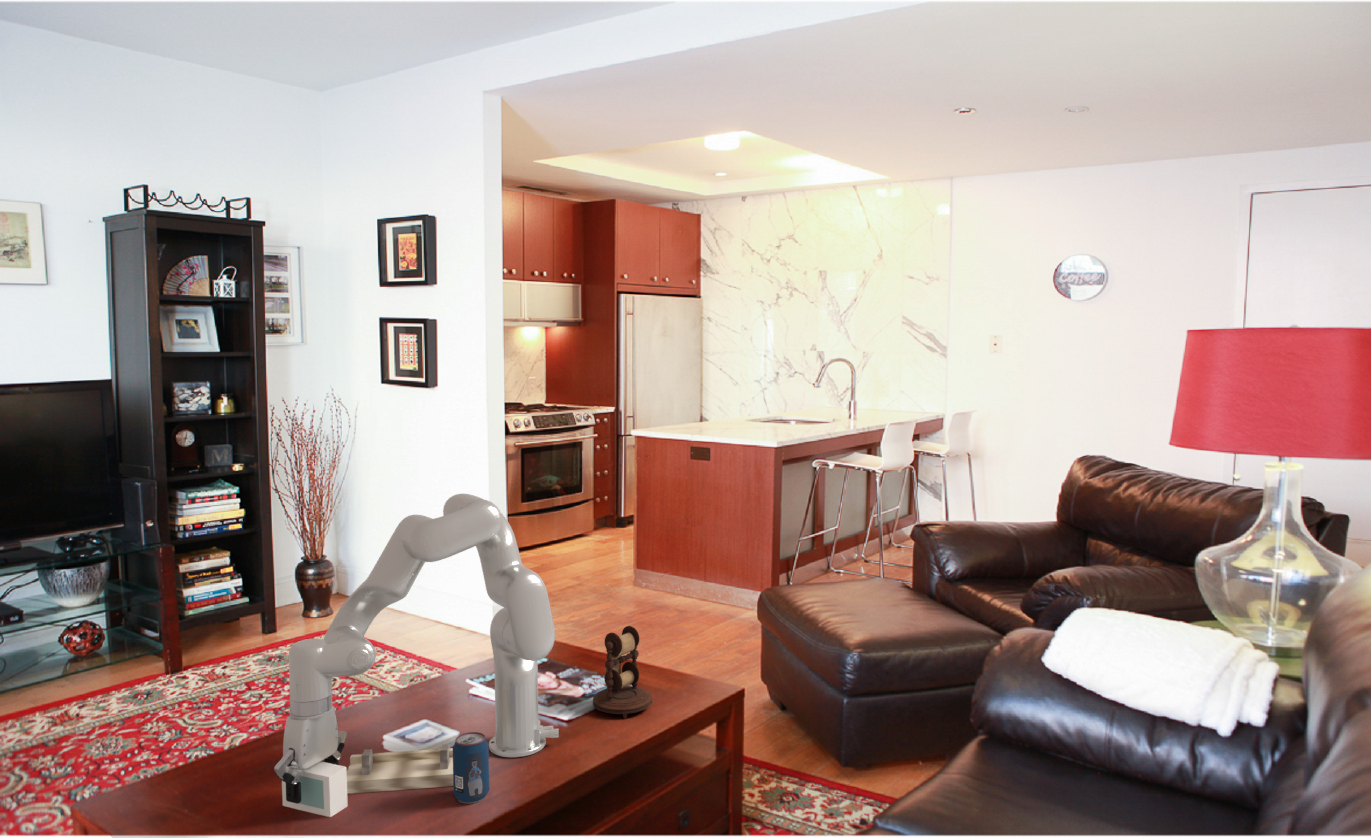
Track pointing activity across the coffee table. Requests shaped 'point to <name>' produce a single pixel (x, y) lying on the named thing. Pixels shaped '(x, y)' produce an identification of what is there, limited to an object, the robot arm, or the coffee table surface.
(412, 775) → the ledge
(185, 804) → the coffee table surface
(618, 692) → the thread spool stand
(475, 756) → the soda can
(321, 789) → the white block
